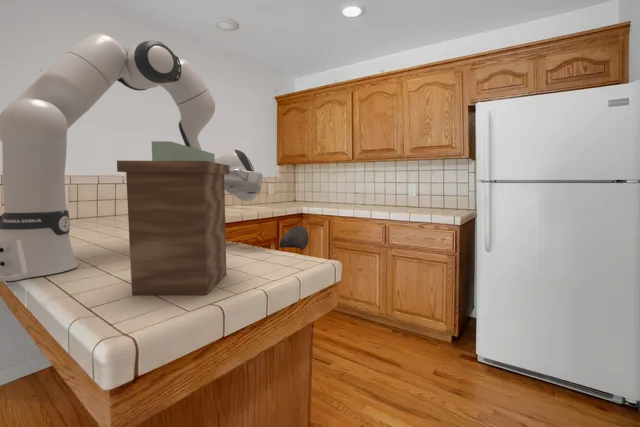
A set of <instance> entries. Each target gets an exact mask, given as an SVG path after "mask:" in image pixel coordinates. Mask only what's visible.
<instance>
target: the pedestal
mask: <svg viewBox="0 0 640 427" xmlns="http://www.w3.org/2000/svg"><path fill="white" fill-rule="evenodd" d="M116 169H117V170H116V171H117V173H126V174H125V177H126V178H125V179H126V197H127V220H128V238H129V239H128V240H129V259H130V280H131V282H130V284H131V295H132V296H207V295H208V294H209V293H210V292H211V291H212V290H213V289H214V288H216V286H218V284H219V283H220V282H221V281H222V280H223V279H224V278H225V277H226V276H227V245H226V244H227V241H226V203H225V200H226V199H225V198H226V195H225V193H226V192H225V191H226V190H225V189H224V174H230V166H229V165H224V164H219V163H214V162H209V161H152V160H116Z"/></svg>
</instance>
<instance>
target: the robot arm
mask: <svg viewBox="0 0 640 427" xmlns="http://www.w3.org/2000/svg"><path fill="white" fill-rule="evenodd" d="M117 81H118V82H119V83H121V84H122V85H123V86H125V87H127V88H128V89H130V90H133V91H147V90H150V89H152V88H154V89H155V88H157V87H158V86H160V87H161V88H162V89H165V90H166V91H167V92H168V94H169V95H170V96H171V98H172V100H173V101H174V103H175V105H176V106H177V107H178V110H179V114H180V120H179V122H178V129H179V132H180V134H181V137H182V140H183V142H184V145H185V146H188V147H192V148H195V149H199V150H202V147H201V145H200V143H199V138H198V137H199V135H200V133H201V132H202V130H203V129H204V128H206V126H207V124H208V123H210V121H211V120H212V118H213V116H214V115H215V111H216V102H215V100H214V98H213V96H212V93H211V92H210V90H209V88H208V86H207V85H206V83H205V82H204V80H203V78H202V76H200V74H199V73H198V72H197V70H196V69H195V67H194V66H193V65H192V64H191V63H190V62H189V61H188V60H186V59H184V58H179V57H178V56H177V55H176V54H175V53H174V52H173V51H172V50H171V49H170V48H169V47H168V46H167V45H165V43H162V42H161V41H156V40H146V41H142V42H140V43H138V44H136V45H134V46H132V47H129V48H126V47H124V46H122V45H121V44H120V43H119V42H118V41H117V40H116V39H115V38H113V37H112V36H110V35H108V34H105V33H93V34H91V35H90V36H88V37H86V38H84V39H83V40H80V41H79V42H78V43H76V44H75V45H73V46H72V47H71V48H69V50H67V51H66V52H65V53H64V54H63V55H62V56H61V57H60V58H59V59H58V60H56V61H55V62H54V63H53V64H52V65H51V66H50V67H48V69H46V71H44V73H42V74H41V75H40V76H39V77H38V78H37V79H36V80H35V81H34V82H33V83H32V84H30V86H28V88H26V90H24V91H23V92H22V93H21V94H20V95H18V97H17V98H16V99H15V100H14V101H12V102H11V103H9V104H7V106H6V107H5V108H4V109H3V110H2V111H1V112H0V141H1V143H2V144H1V145H2V146H1V147H2V148H1V149H2V172H1V174H2V175H1V176H2V177H1V178H2V179H1V180H2V191H3V203H4V212H3V213H2V214H1V215H0V282H12V281H13V282H14V281H21V280H24V279H25V280H26V279H29V278H34V277H35V278H36V277H41V276H42V277H43V276H48V275H54V274H58V273H59V274H60V273H64V272H66V271H70V270H73V269H76V268H77V267H78V266H79V263H78V261H77V259H76V256H75V254H74V251H73V248H72V243H71V238H70V237H71V236H70V226H71V224H70V223H71V222H70V214H69V212H70V211H69V210H68V209H67V198H66V197H67V196H66V186H65V185H66V184H65V182H66V181H65V179H66V178H65V176H66V175H65V173H66V163H67V162H66V161H67V148H68V147H67V146H68V144H67V143H68V136H67V135H68V130H69V128H71V127H72V126H73V125H74V124H75V123H76V122H78V120H79V119H80V118H81V117H82V116H84V114H86V113H87V112H88V111H89V110H90V109H91V108H92V107H93V106H94V105H95V104H96V102H98V100H100V99H101V98H102V96H103V95H104V94H106V92H107V91H109V89H110V88H111V87H112V86H113V85H114V83H116V82H117ZM202 151H203V150H202ZM215 163H219V164H224V165H229V166H230V174H224V189H225V191H226V192H227V193H229V194H230V195H232V196H234V197H235V198H237V199H239V200H241V201H244V202H247V201H252V200H254V199H256V197H257V196H258V194H261V191H262V186H263V173H261V172H259V171H255V170H254V166H253V164H252V162H251V160H250V159H249V158H248V156H247V155H246V154H245V153H244V152H243V151H241V150H238V149H233V150H230V151H229V152H227V153H224V154H223V155H221V156H219V157H217V158H215Z"/></svg>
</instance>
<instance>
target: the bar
mask: <svg viewBox="0 0 640 427" xmlns="http://www.w3.org/2000/svg"><path fill="white" fill-rule="evenodd" d="M151 159H152V160H151V161H209V162H214V163H215V159H216V158H215V153H212V152H209V151H205V150H199V149H195V148H192V147H188V146H186V145H185V144H180V143H177V142H174V141H169V140H168V141H165V140H163V141H157V140H156V141H154V140H153V141H151Z"/></svg>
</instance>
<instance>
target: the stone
mask: <svg viewBox="0 0 640 427" xmlns="http://www.w3.org/2000/svg"><path fill="white" fill-rule="evenodd" d="M309 241H310V240H309V233H308V231H307V229H306V228H305V227H304V226H302V225H295V226H293V227H292V228H290V229H289V230H288V231H286V232H285V233H284V235H283V236H282V237H281V239H280V241H279V245H278V246H279V248H284V249H285V248H294V249H300V250H302V251H303V250H305V249H306V247H307V246H308V245H309Z"/></svg>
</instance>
